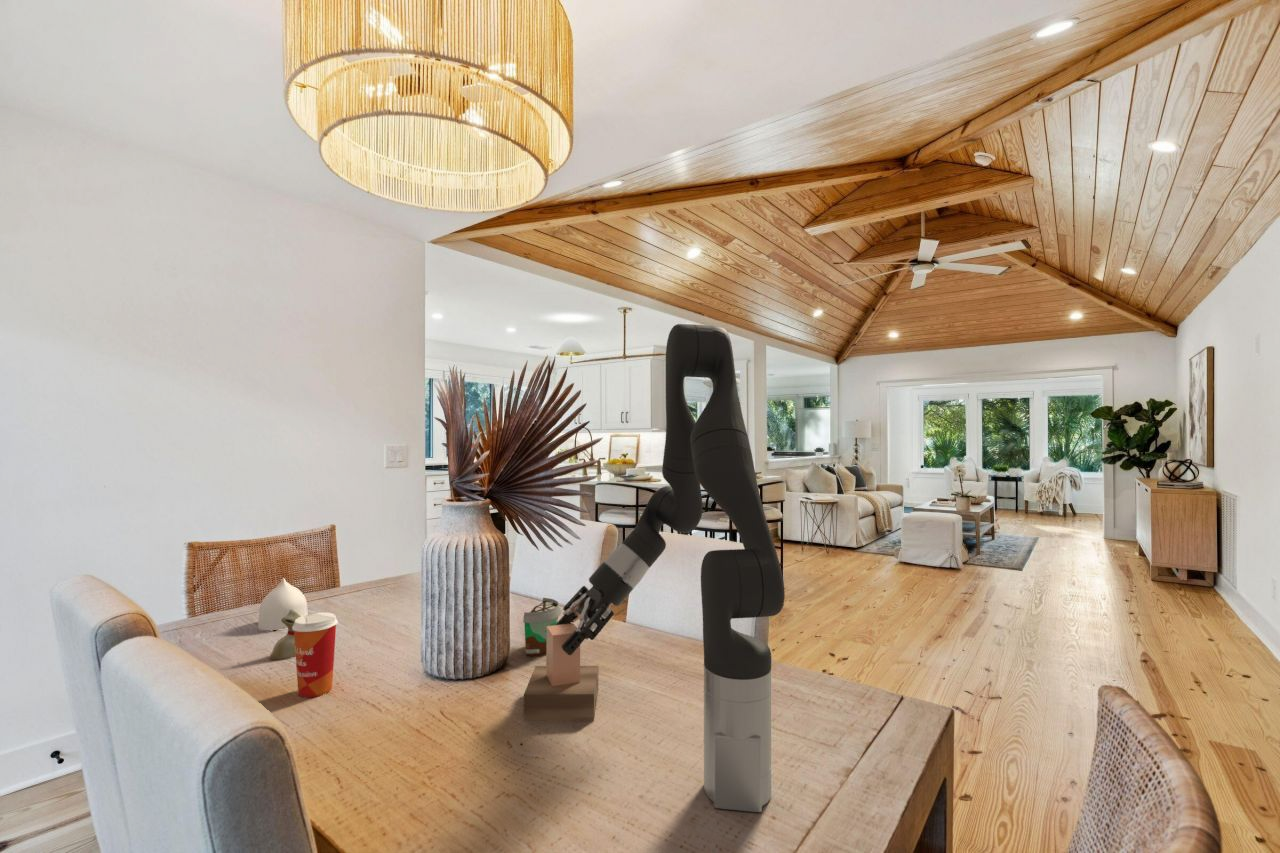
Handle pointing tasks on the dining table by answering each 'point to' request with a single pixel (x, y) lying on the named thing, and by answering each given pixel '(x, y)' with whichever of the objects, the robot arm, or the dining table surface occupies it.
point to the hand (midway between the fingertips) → (559, 643)
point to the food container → (540, 626)
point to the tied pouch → (286, 639)
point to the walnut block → (561, 697)
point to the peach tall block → (561, 656)
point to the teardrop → (281, 606)
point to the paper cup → (315, 653)
